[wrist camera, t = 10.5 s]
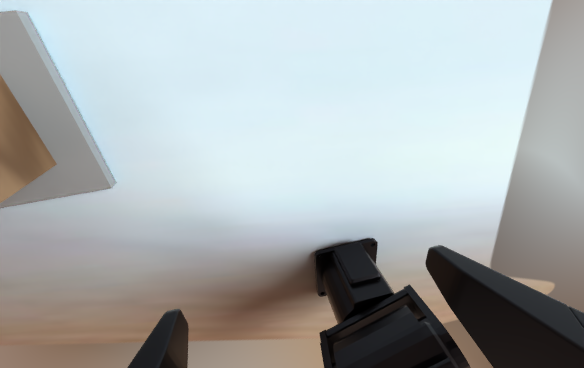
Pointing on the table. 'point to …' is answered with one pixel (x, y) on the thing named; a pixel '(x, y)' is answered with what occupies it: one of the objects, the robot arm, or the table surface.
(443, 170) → the table surface
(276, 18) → the table surface
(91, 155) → the coaster
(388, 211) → the table surface
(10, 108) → the walnut cube
